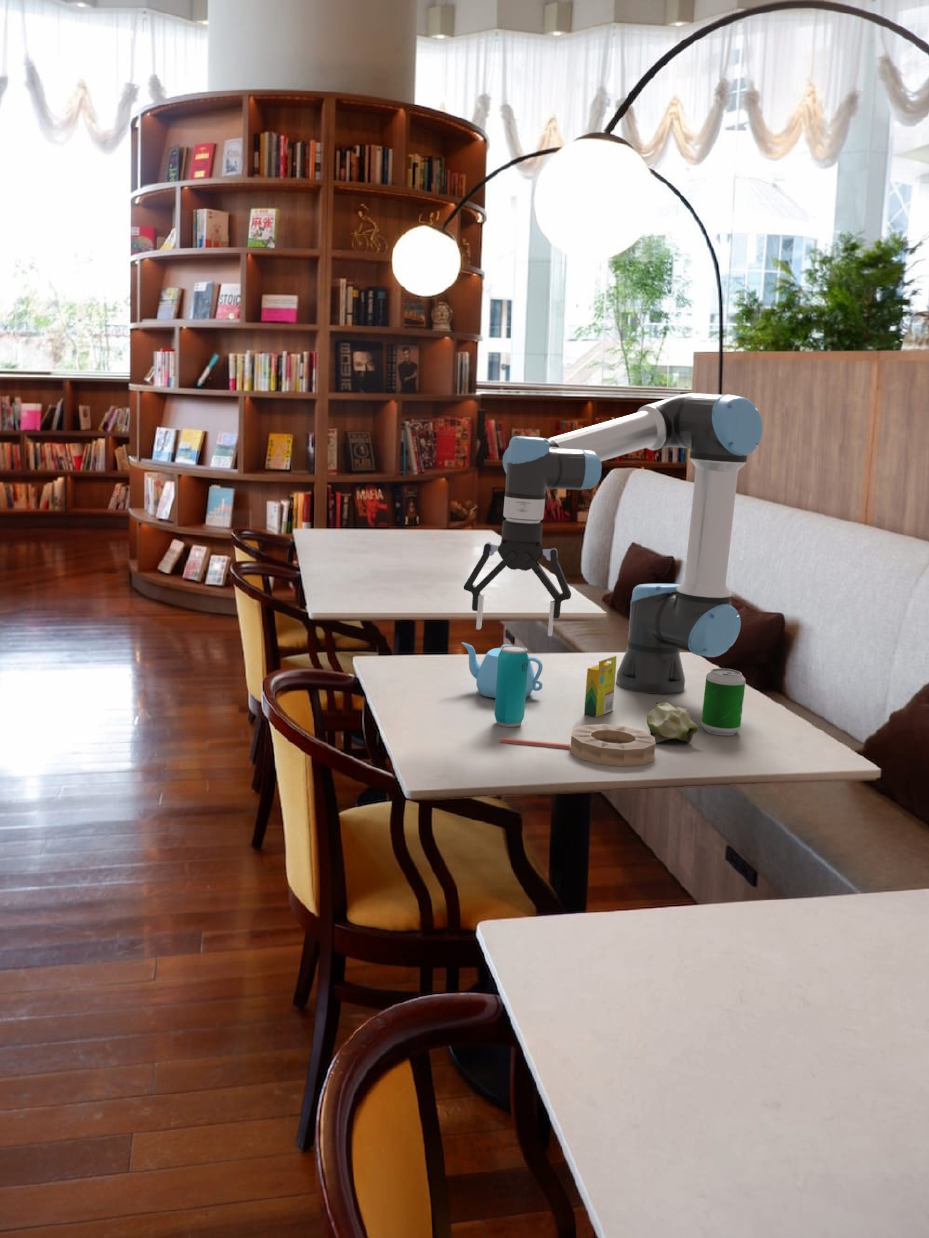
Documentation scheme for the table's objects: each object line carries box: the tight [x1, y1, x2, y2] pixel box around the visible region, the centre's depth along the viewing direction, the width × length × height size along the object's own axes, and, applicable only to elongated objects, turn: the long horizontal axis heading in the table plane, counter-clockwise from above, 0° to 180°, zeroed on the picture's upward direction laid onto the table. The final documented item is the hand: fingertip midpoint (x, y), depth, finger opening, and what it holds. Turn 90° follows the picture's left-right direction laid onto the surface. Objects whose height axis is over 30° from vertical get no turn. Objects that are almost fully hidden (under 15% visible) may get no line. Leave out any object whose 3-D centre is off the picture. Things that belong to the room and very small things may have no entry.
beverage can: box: [494, 644, 529, 728], centre depth 229 cm, size 6×6×15 cm
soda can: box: [701, 667, 746, 737], centre depth 233 cm, size 8×8×12 cm
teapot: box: [461, 641, 543, 699], centre depth 251 cm, size 13×11×18 cm
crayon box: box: [583, 655, 617, 719], centre depth 241 cm, size 7×3×12 cm, turn 145°
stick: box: [500, 737, 571, 750], centre depth 218 cm, size 1×13×1 cm, turn 83°
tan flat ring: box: [569, 723, 656, 767], centre depth 216 cm, size 15×15×3 cm
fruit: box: [646, 701, 700, 744], centre depth 226 cm, size 9×9×8 cm
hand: (514, 631), depth 227 cm, fingers open, 13 cm apart
